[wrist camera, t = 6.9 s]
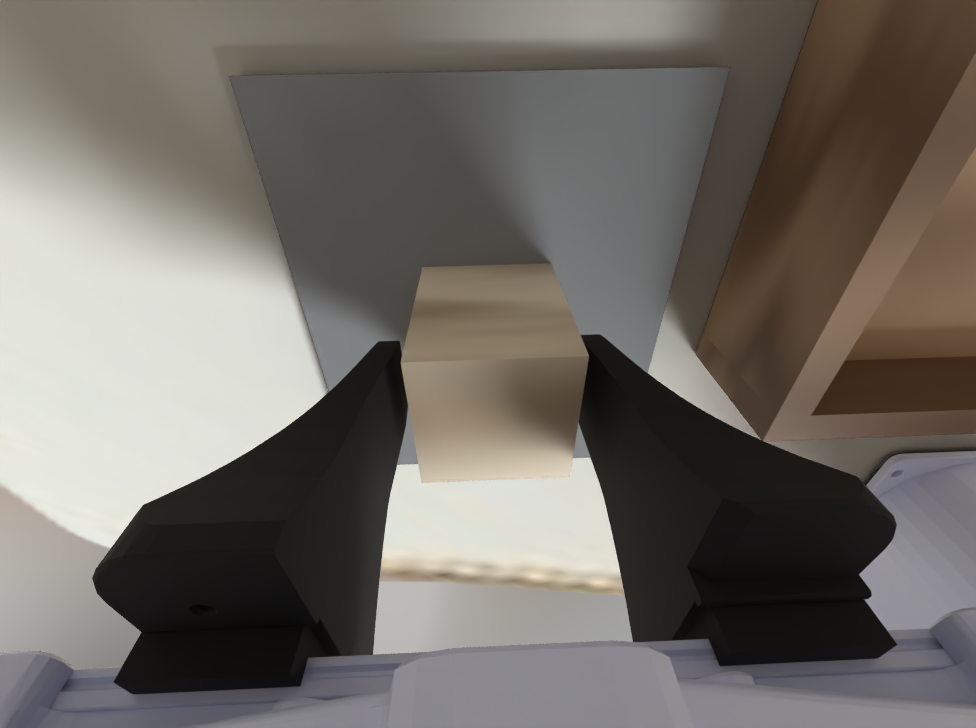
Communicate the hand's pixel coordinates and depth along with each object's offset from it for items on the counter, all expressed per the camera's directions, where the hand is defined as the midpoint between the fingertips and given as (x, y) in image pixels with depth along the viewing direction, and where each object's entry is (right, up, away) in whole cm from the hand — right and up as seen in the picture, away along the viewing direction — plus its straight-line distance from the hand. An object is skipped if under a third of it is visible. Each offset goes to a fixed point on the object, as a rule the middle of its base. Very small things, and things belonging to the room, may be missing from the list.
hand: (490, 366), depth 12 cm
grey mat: (0, +2, +2) cm, 3 cm away
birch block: (0, +2, +2) cm, 2 cm away
